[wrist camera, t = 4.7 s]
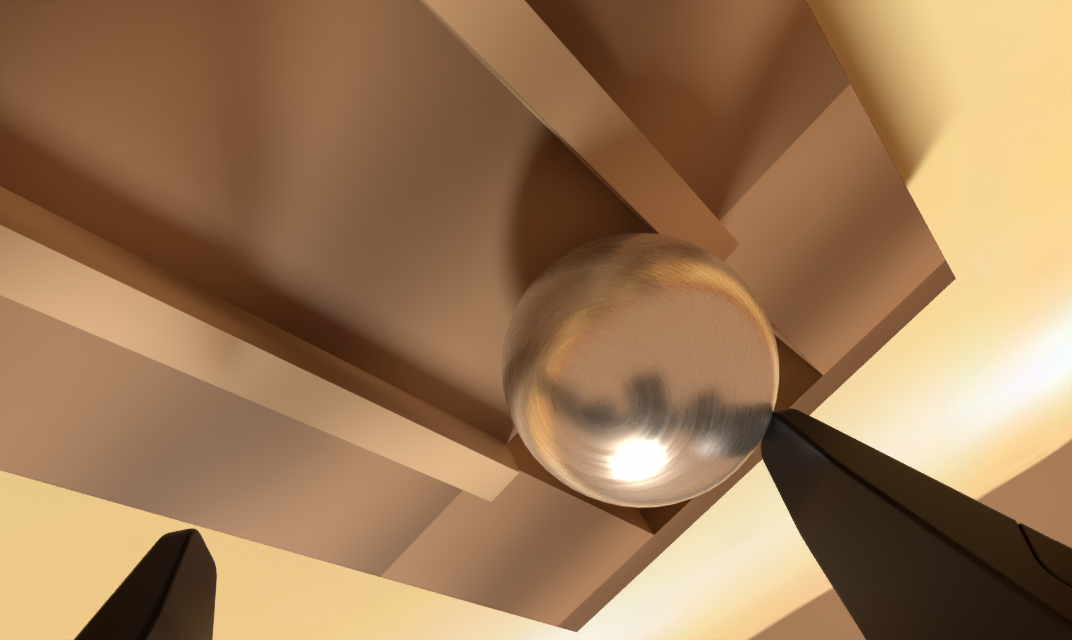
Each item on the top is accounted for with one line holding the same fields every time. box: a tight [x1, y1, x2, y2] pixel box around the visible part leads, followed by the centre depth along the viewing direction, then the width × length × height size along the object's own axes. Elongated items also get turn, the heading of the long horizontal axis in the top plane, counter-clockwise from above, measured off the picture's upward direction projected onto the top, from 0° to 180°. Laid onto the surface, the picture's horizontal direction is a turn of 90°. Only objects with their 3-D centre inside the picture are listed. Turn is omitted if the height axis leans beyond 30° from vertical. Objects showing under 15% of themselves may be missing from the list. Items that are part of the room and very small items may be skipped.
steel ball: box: [501, 233, 779, 508], centre depth 11 cm, size 5×5×5 cm
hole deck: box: [0, 0, 956, 632], centre depth 14 cm, size 20×16×4 cm
